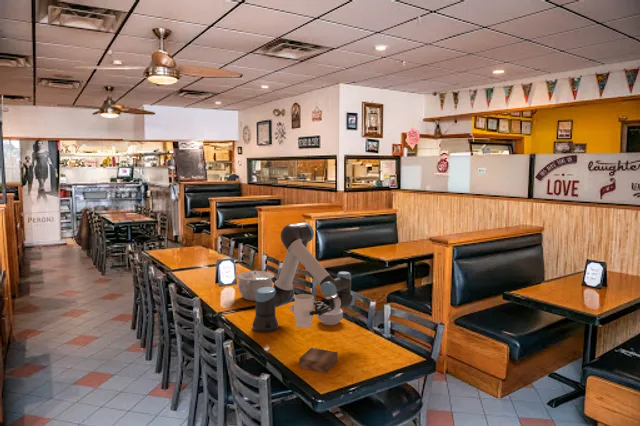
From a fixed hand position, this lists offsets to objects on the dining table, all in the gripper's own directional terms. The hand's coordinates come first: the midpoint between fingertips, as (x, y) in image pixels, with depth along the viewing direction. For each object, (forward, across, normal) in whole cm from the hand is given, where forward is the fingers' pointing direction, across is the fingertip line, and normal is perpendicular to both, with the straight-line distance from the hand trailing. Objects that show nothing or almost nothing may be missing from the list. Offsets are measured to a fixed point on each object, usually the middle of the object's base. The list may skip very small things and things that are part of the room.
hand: (297, 311), depth 229 cm
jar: (-4, 0, -8) cm, 9 cm away
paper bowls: (-43, +23, -22) cm, 54 cm away
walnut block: (0, -18, -22) cm, 28 cm away
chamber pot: (-34, +95, -22) cm, 104 cm away
